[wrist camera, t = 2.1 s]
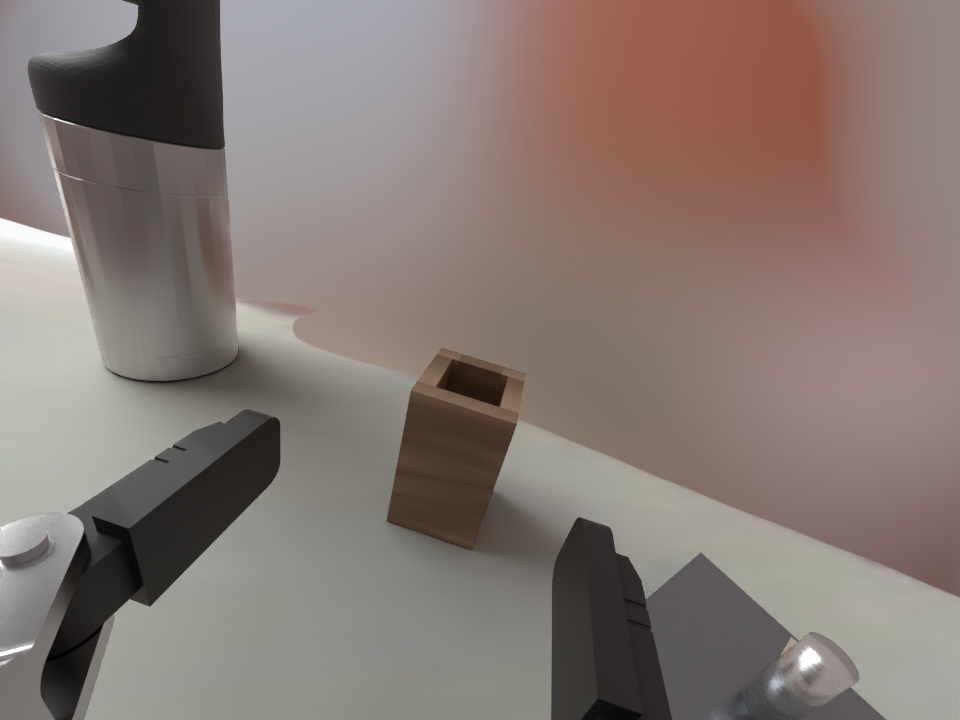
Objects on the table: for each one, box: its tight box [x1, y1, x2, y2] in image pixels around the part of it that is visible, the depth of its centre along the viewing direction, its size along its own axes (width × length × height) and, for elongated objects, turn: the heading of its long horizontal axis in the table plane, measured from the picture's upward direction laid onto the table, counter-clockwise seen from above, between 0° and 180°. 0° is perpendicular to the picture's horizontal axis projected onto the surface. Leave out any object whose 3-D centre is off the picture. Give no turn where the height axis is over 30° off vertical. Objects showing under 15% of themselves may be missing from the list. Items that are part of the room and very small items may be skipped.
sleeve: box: [387, 348, 525, 550], centre depth 23 cm, size 6×6×10 cm
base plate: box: [646, 553, 886, 720], centre depth 17 cm, size 12×12×6 cm
